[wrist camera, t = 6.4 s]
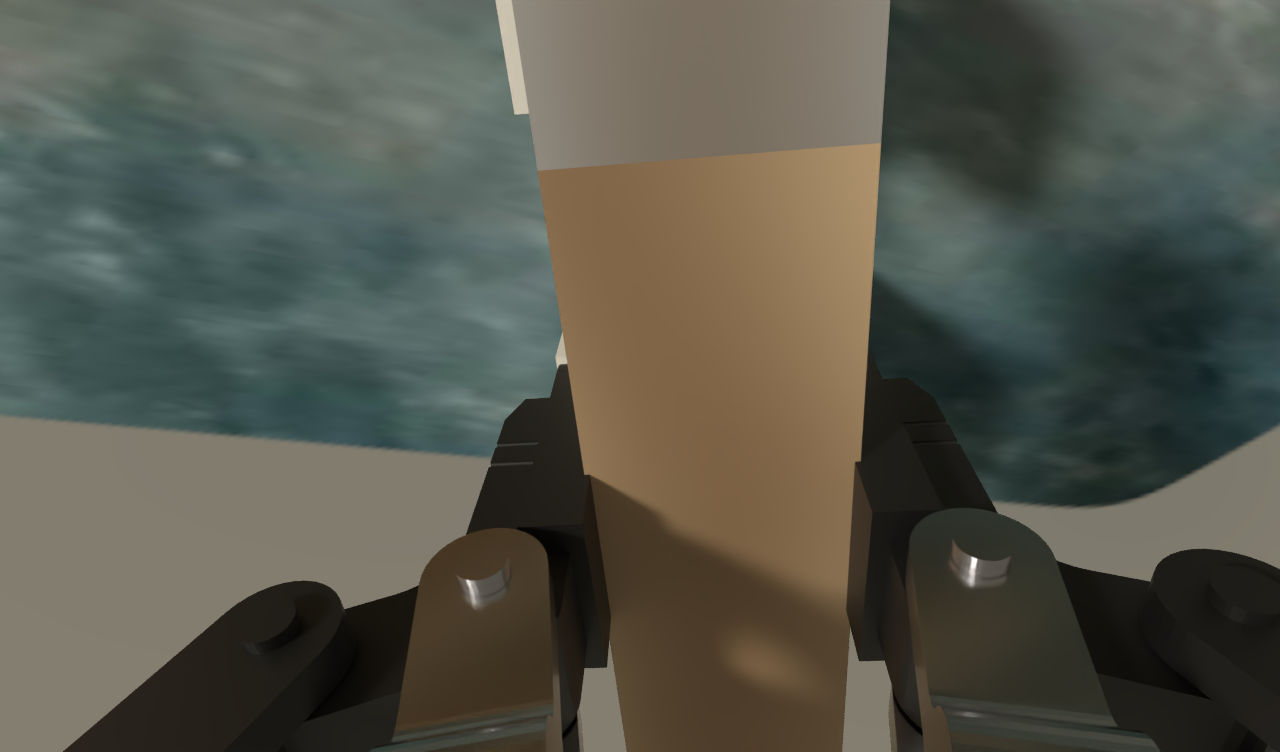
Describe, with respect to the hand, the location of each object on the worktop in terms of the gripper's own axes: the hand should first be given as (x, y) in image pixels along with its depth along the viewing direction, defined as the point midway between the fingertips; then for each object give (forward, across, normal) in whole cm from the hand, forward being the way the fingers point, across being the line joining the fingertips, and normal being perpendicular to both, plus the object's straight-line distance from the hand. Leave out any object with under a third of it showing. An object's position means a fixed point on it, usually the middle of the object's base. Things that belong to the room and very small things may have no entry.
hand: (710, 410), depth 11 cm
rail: (+1, 0, 0) cm, 1 cm away
